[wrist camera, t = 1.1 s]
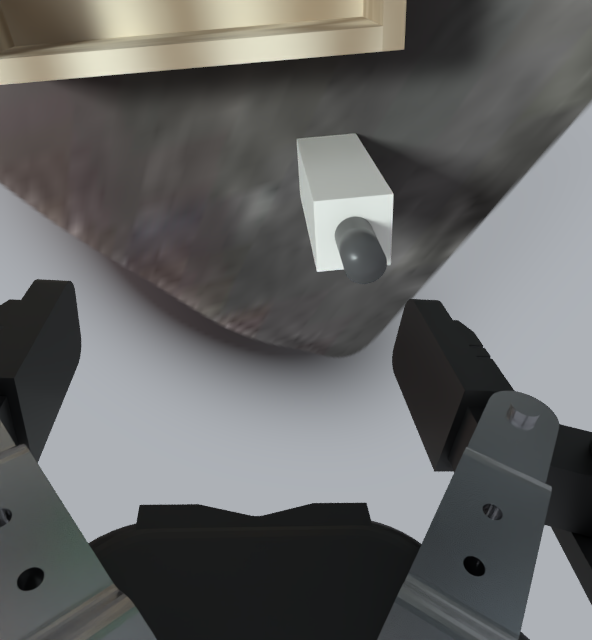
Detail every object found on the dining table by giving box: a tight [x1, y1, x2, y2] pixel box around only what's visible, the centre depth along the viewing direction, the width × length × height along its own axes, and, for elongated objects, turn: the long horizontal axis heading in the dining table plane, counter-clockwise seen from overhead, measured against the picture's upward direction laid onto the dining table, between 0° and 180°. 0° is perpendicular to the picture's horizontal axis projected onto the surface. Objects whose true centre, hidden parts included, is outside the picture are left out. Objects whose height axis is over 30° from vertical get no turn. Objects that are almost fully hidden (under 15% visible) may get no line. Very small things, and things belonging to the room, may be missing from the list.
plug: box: [297, 133, 394, 284], centre depth 27 cm, size 4×4×13 cm
